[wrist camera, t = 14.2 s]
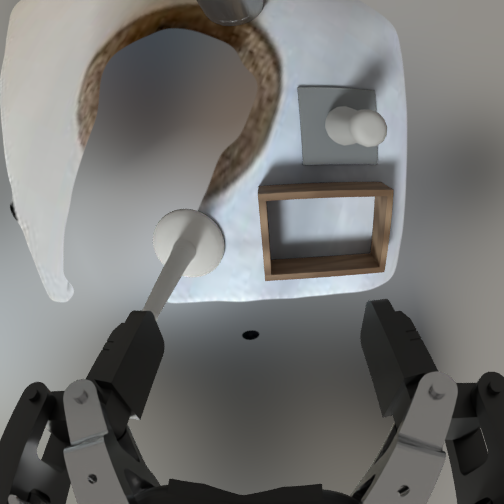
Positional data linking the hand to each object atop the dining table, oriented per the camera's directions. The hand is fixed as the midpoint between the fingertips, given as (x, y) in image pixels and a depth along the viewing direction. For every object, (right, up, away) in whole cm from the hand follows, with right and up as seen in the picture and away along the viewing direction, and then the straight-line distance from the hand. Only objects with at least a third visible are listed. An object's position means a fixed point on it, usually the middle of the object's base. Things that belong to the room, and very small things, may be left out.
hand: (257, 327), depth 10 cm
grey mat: (+13, +22, +27) cm, 37 cm away
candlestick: (-11, +4, +37) cm, 39 cm away
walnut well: (+11, +7, +34) cm, 37 cm away
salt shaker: (+13, +22, +26) cm, 36 cm away
